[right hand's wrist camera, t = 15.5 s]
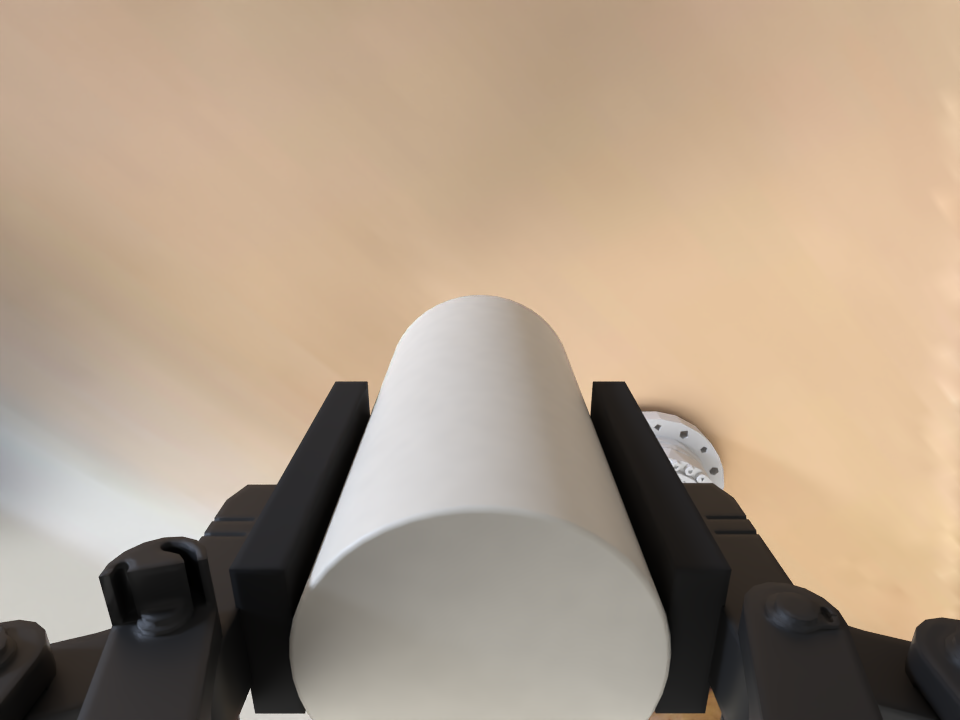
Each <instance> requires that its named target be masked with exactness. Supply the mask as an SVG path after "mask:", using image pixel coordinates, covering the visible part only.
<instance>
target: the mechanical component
mask: <svg viewBox="0 0 960 720" xmlns="http://www.w3.org/2000/svg"><path fill="white" fill-rule="evenodd" d="M642 413H643V415H644V416H645V418H646V420H647V422H648V423H649V425H650V427H651V429H652V430H653V432H654V434H655V436H656V437H657V439H658V441H659V443H660V444H661V446H662V448H663V450H664V451H665V453H666V455H667V457H668V458H669V460H670V462H671V464H672V466H673V467H674V469H675V471H676V473H677V474H678V476H679V478H680V480H681V481H682V483H714V484H715V485H716V486H718V487H719V488H721V489H722V490H723V488H724V474H723V467H722V464H721V461H720V458H719V455H718V454H717V452H716V451H715V449H714V447H713V446H712V444H711V443H710V441H709V440H708V439H707V438H706V437H705V436H704V434H703V433H702V432H701V431H700V430H699V429H698V428H697V427H696V426H695V425H693V424H691V423H689V422H687V421H685V420H683V419H682V418H680V417H678V416H676V415H671V414H666V413H661V412H657V411H650V412H642Z"/></svg>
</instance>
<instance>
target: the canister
mask: <svg viewBox="0 0 960 720" xmlns="http://www.w3.org/2000/svg"><path fill="white" fill-rule="evenodd" d="M289 658H290V664H291V670H292V676H293V681H294V684H295V687H296V690H297V693H298V695H299V698H300V700H301V702H302V704H303V705H304V707H305V709H306V711H307V713H308V715H309V716H310V717H311V719H312V720H648V719H649V718H650V716H651V715H652V713H653V712H654V710H655V708H656V706H657V704H658V702H659V700H660V698H661V696H662V694H663V691H664V688H665V685H666V681H667V678H668V674H669V666H670V659H671V635H670V630H669V625H668V621H667V616H666V613H665V610H664V608H663V605H662V603H661V600H660V597H659V595H658V592H657V590H656V587H655V584H654V582H653V579H652V576H651V574H650V571H649V569H648V566H647V563H646V561H645V558H644V556H643V553H642V550H641V548H640V545H639V543H638V540H637V537H636V535H635V532H634V530H633V527H632V524H631V522H630V519H629V516H628V514H627V511H626V509H625V506H624V503H623V501H622V498H621V496H620V493H619V490H618V488H617V485H616V483H615V480H614V477H613V475H612V472H611V469H610V467H609V464H608V462H607V459H606V456H605V454H604V451H603V449H602V446H601V443H600V441H599V438H598V436H597V433H596V430H595V428H594V425H593V423H592V420H591V417H590V415H589V412H588V409H587V407H586V404H585V402H584V399H583V396H582V394H581V391H580V389H579V386H578V383H577V381H576V378H575V376H574V373H573V370H572V368H571V365H570V363H569V360H568V357H567V355H566V352H565V350H564V347H563V345H562V343H561V341H560V339H559V338H558V336H557V334H556V333H555V332H554V330H553V329H552V328H551V326H550V325H549V324H548V323H547V322H546V321H545V320H544V319H543V318H542V317H540V316H539V315H538V314H536V313H535V312H534V311H532V310H531V309H529V308H527V307H525V306H523V305H522V304H519V303H517V302H514V301H512V300H509V299H505V298H501V297H496V296H488V295H472V296H464V297H459V298H455V299H452V300H448V301H446V302H443V303H441V304H439V305H436V306H435V307H433V308H431V309H430V310H428V311H426V312H425V313H424V314H422V315H421V316H420V317H419V318H417V319H416V320H415V321H414V322H413V323H412V324H411V325H410V326H409V328H408V329H407V330H406V332H405V333H404V334H403V336H402V338H401V339H400V341H399V343H398V345H397V347H396V350H395V352H394V355H393V358H392V360H391V363H390V365H389V368H388V371H387V373H386V376H385V378H384V381H383V384H382V386H381V389H380V392H379V394H378V397H377V399H376V402H375V405H374V407H373V410H372V413H371V415H370V418H369V420H368V423H367V426H366V428H365V431H364V434H363V436H362V439H361V441H360V444H359V447H358V449H357V452H356V454H355V457H354V460H353V462H352V465H351V468H350V470H349V473H348V475H347V478H346V481H345V483H344V486H343V489H342V491H341V494H340V496H339V499H338V502H337V504H336V507H335V510H334V512H333V515H332V517H331V520H330V523H329V525H328V528H327V530H326V533H325V536H324V538H323V541H322V544H321V546H320V549H319V551H318V554H317V557H316V559H315V562H314V565H313V567H312V570H311V572H310V575H309V578H308V580H307V583H306V586H305V588H304V591H303V593H302V596H301V599H300V601H299V604H298V607H297V609H296V612H295V615H294V617H293V622H292V627H291V632H290V638H289Z"/></svg>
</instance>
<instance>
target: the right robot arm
mask: <svg viewBox="0 0 960 720" xmlns="http://www.w3.org/2000/svg"><path fill="white" fill-rule="evenodd" d="M590 417H591V420H592V423H593V425H594V428H595V430H596V433H597V436H598V438H599V441H600V443H601V446H602V449H603V451H604V454H605V456H606V459H607V462H608V464H609V467H610V469H611V472H612V475H613V477H614V480H615V483H616V485H617V488H618V490H619V493H620V496H621V498H622V501H623V503H624V506H625V509H626V511H627V514H628V516H629V519H630V522H631V524H632V527H633V530H634V532H635V535H636V537H637V540H638V543H639V545H640V548H641V550H642V553H643V556H644V558H645V561H646V563H647V566H648V569H649V571H650V574H651V576H652V579H653V582H654V584H655V587H656V590H657V592H658V595H659V597H660V600H661V603H662V605H663V608H664V610H665V613H666V616H667V621H668V625H669V630H670V635H671V659H670V666H669V674H668V678H667V681H666V685H665V688H664V691H663V694H662V696H661V698H660V700H659V702H658V704H657V706H656V708H655V713H705V711H706V706H707V700H708V695H709V690H710V686H711V689H712V691H713V693H714V696H715V698H716V701H717V703H718V706H719V708H720V710H721V718H720V720H960V620H955V619H949V618H935V619H928V620H925V621H924V622H922V623H921V624H920V625H919V626H917V627H916V630H915V633H914V636H913V639H912V642H910V641H906V640H902V639H897V638H893V637H889V636H885V635H880V634H876V633H872V632H867V631H863V630H860V629H857V628H854V627H850V626H848V625H847V623H846V622H845V620H844V618H843V617H842V615H841V614H840V612H839V611H838V610H837V609H836V608H835V607H833V606H832V605H831V604H830V603H829V602H827V601H826V600H825V599H824V598H822V597H820V596H818V595H816V594H815V593H813V592H811V591H809V590H807V589H805V588H801V587H798V586H795V585H793V583H792V582H791V580H790V579H789V578H788V576H787V575H786V573H785V572H784V570H783V569H782V567H781V566H780V564H779V563H778V562H777V560H776V559H775V557H774V556H773V554H772V553H771V551H770V550H769V548H768V547H767V546H766V544H765V543H764V541H763V540H762V538H761V537H760V535H759V534H756V529H755V528H754V527H753V525H752V524H751V522H750V521H749V519H746V515H745V513H744V512H743V511H742V509H741V508H740V506H739V505H738V503H737V502H736V500H735V499H734V498H733V497H732V496H730V495H729V494H728V493H726V492H725V491H723V490H722V489H721V488H719V487H718V486H716V485H715V484H714V483H682V481H681V480H680V478H679V476H678V474H677V473H676V471H675V469H674V467H673V466H672V464H671V462H670V460H669V458H668V457H667V455H666V453H665V451H664V450H663V448H662V446H661V444H660V443H659V441H658V439H657V437H656V436H655V434H654V432H653V430H652V429H651V427H650V425H649V423H648V422H647V420H646V418H645V416H644V415H643V413H642V411H641V409H640V408H639V406H638V404H637V402H636V401H635V399H634V397H633V395H632V394H631V392H630V390H629V388H628V387H627V385H626V383H625V382H593V388H592V401H591V415H590ZM369 418H370V410H369V396H368V382H335V384H334V385H333V387H332V389H331V391H330V392H329V394H328V396H327V398H326V400H325V401H324V403H323V405H322V407H321V408H320V410H319V412H318V414H317V415H316V417H315V419H314V421H313V422H312V424H311V426H310V428H309V429H308V431H307V433H306V435H305V436H304V438H303V440H302V442H301V443H300V445H299V447H298V449H297V450H296V452H295V454H294V456H293V457H292V459H291V461H290V463H289V464H288V466H287V468H286V470H285V471H284V473H283V475H282V477H281V478H280V480H279V482H278V484H277V485H247V486H245V487H244V488H243V489H241V490H240V491H238V492H237V493H236V494H234V495H233V496H232V497H230V498H229V499H227V500H226V502H225V503H224V505H223V506H222V508H221V509H220V511H219V512H218V514H217V515H216V517H215V520H214V521H212V522H211V524H210V525H209V527H208V528H207V530H206V531H205V535H204V536H202V537H201V539H200V540H199V541H197V540H194V539H190V538H186V537H165V538H160V539H156V540H153V541H149V542H145V543H142V544H140V545H138V546H136V547H134V548H131V549H129V550H127V551H125V552H123V553H122V554H121V555H119V556H118V557H117V558H115V559H114V560H113V561H111V562H110V563H109V564H108V565H107V566H106V568H105V569H104V570H103V572H102V573H101V574H100V576H99V580H100V583H101V587H102V590H103V594H104V597H105V601H106V605H107V608H108V612H109V615H110V619H111V622H112V628H111V629H108V630H105V631H102V632H99V633H95V634H91V635H86V636H82V637H78V638H74V639H69V640H65V641H61V642H56V643H52V644H50V643H49V640H48V637H47V634H46V631H45V629H43V628H42V627H41V626H40V625H38V624H37V623H36V622H31V621H24V620H15V621H9V622H2V623H0V720H240V718H239V714H240V712H241V709H242V707H243V705H244V702H245V700H246V697H247V695H248V692H249V690H250V688H251V693H252V698H253V704H254V709H255V713H305V711H306V709H305V707H304V705H303V704H302V702H301V700H300V698H299V695H298V693H297V690H296V687H295V684H294V681H293V676H292V670H291V664H290V658H289V638H290V632H291V627H292V622H293V617H294V615H295V612H296V609H297V607H298V604H299V601H300V599H301V596H302V593H303V591H304V588H305V586H306V583H307V580H308V578H309V575H310V572H311V570H312V567H313V565H314V562H315V559H316V557H317V554H318V551H319V549H320V546H321V544H322V541H323V538H324V536H325V533H326V530H327V528H328V525H329V523H330V520H331V517H332V515H333V512H334V510H335V507H336V504H337V502H338V499H339V496H340V494H341V491H342V489H343V486H344V483H345V481H346V478H347V475H348V473H349V470H350V468H351V465H352V462H353V460H354V457H355V454H356V452H357V449H358V447H359V444H360V441H361V439H362V436H363V434H364V431H365V428H366V426H367V423H368V420H369Z"/></svg>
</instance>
